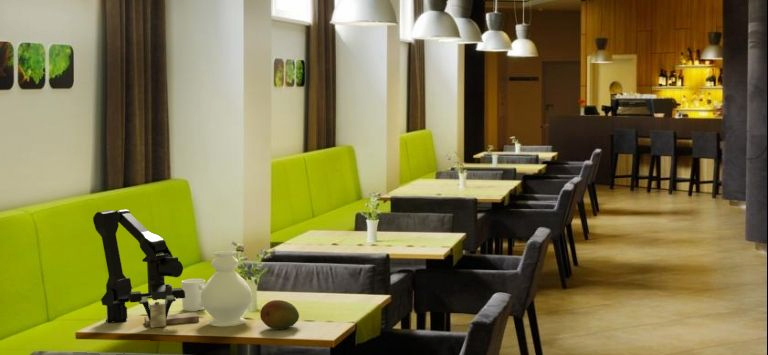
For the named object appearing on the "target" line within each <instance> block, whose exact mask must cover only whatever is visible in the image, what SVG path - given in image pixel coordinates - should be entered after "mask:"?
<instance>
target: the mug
mask: <svg viewBox="0 0 768 355" xmlns="http://www.w3.org/2000/svg"><path fill="white" fill-rule="evenodd" d="M205 284H206V280H205V279H204V278H188V279H184V280H181V288H182V289H183V290H184V291H185V298H181V302H182V309H183V311H186V312H198V310H200V311H203V310H206V309H205V308H204V307H203V305H202V303H201V292H202V290H203V288H204V286H205Z"/></svg>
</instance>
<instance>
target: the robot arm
mask: <svg viewBox="0 0 768 355" xmlns="http://www.w3.org/2000/svg"><path fill="white" fill-rule="evenodd" d="M92 217H93V218H92V222H93V225H94V228H95V231H96V232H97V233H98V235H99V236H100V237H101V240H102V246H103V251H104V258H105V263H106V267H107V268H106V269H107V273H108V279H107V282H106V285H105V288H106V292H105V293H104V295H103V296H102V298H100V302H101V305H102V306H106V323H109V324H111V323H121V322H122V323H123V322H127V321H128V320H127V319H128V307H127V306H126V303H139V304H140V305H142V306H143V308H144V310H145V313H146V316H147V317H148V318H149V320H151V316H150V309H149V304H150V303H149V300H148V299H152V300H153V301H158V300H163V301H164V303H165V315H166V319H167V315H169V311H170V308H171V305H172V304H173V302H175V301H177V299H178V300H179V299H182V298H185V291H184V290H183V289H182V287H175V288H173V286H172V284H171V283H169V284H168V283H167V284H166V281H165V277H171V278H179V277H180V276H182V274H183V271H184V266H183V264H182V262H181V261H179V257H178V256H173V254H172V251H171V250H170V248H169V246H168V245H167V242H166V241H165V239H163V238H162V237H161V236H159V235H158V234H154V233H152V232H150V231H149V230H148V229H147V228H146V227H145V226H143V224H142V223H141V222H140V221H139V220H137V219H136V218H135V217H134V216H133V215H132V214H131V211H130V210H128V209H126V208H125V209H118V210H116V211H114V210H113V209H109V210H102V211H97V212H96V213H95V214H94V215H93V216H92ZM119 224H120V225H121V226H122V227H123V228H124V229H125V230H126V231H127V232H128V233H129V234H130V235H131V236H132V237H133V238H135V240H136V241H137V242H138V244H139V248H140V250H141V251H142V253H143V254H144V255H145V257H143V258H142V260H141V261H142V262H143V263H146V269H147V270H146V271H147V292H144V293H143V292H141V291H139V290H138V291H133V290H132V289H133V287H132V284H131V278H130V277H126V276H125V275H124V273H123V268H122V267H123V266H122V261H121V256H120V250H119V246H118V245H119V244H118V239H117V232H118V229H119Z"/></svg>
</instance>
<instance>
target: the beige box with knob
mask: <svg viewBox="0 0 768 355" xmlns="http://www.w3.org/2000/svg"><path fill="white" fill-rule="evenodd" d="M149 310H150V316H151V320H150V326H149V327H150V328H151V329H152V328H153V329H154V328H162V327H167V325H166V315H165V302H159V301H155V302H153V303H149Z"/></svg>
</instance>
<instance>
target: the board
mask: <svg viewBox="0 0 768 355" xmlns="http://www.w3.org/2000/svg"><path fill="white" fill-rule="evenodd" d="M188 322H192V323H199V322H200V315H198V314H197V311H194V312H187V313H186V312H185V313H175V314H168V315H167V319H166V324H170V325H179V324H178V323H181V324H189V323H188ZM144 325H146V327H148V326H149V327H151V326H150V320H149V318H148V316H144ZM149 327H148V328H149Z"/></svg>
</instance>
